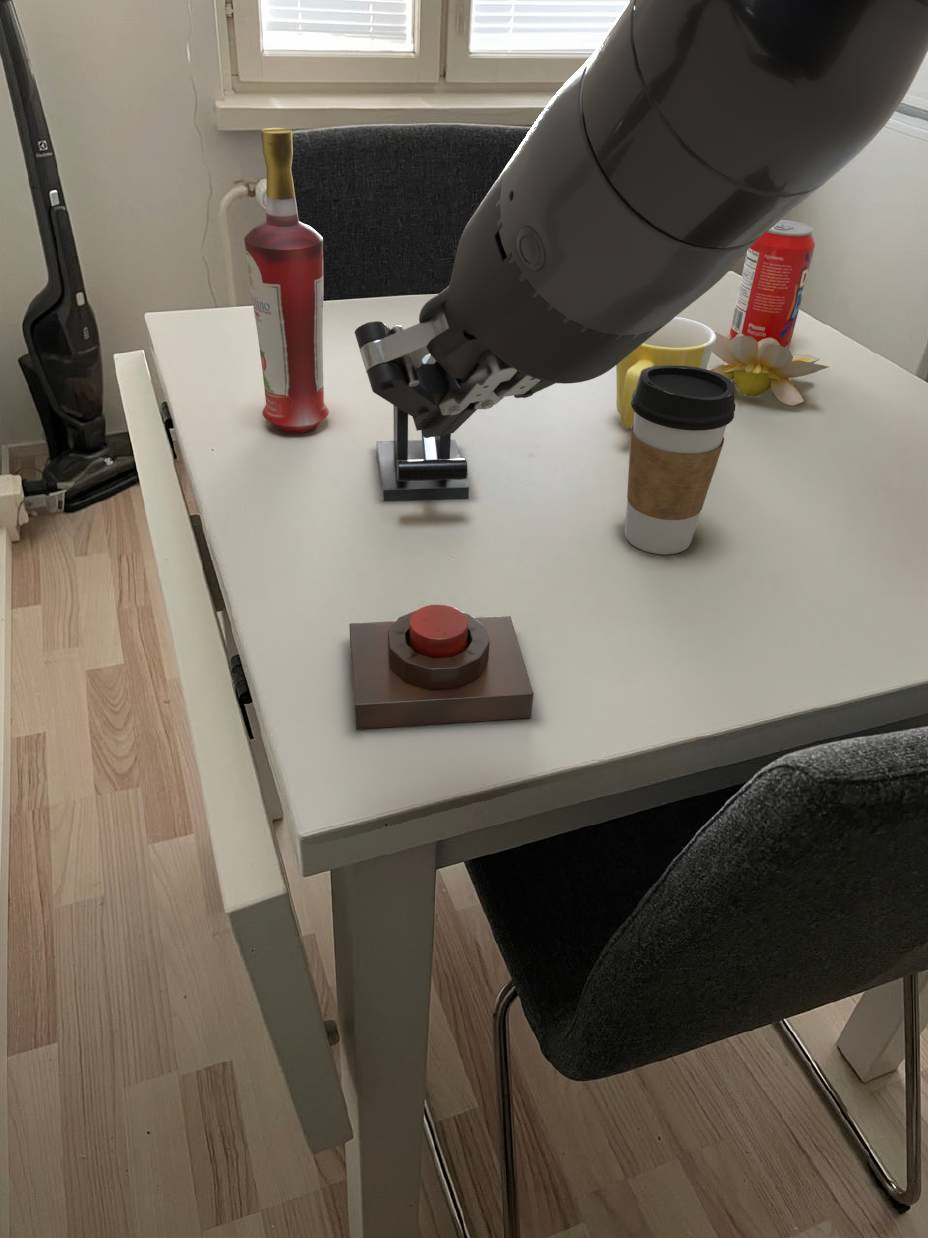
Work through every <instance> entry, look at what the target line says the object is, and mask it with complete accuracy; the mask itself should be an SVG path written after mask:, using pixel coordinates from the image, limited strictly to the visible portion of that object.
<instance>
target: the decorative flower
mask: <svg viewBox="0 0 928 1238" xmlns="http://www.w3.org/2000/svg"><path fill="white" fill-rule="evenodd" d="M714 333H715V334H716V341H715V344H714V347H713V350H712V353H713V354H714V355H715V356H716V357H718V358H719V359H720V360H722V361H723V362H725V363H726V365H722V366H718V367H715V368H712V369H709V370H710V371H713V372H716V373H719V374H721V375H723V376H725V377H727V378H728V379H729V380H731V381H732V380H733V381H734V383H735V385H736V387H737V389H738V391H739V392H740V393H741V394H743V395H745V396H747V397H753V398H757V397H758V396H761V395H762V394H764V393H766V392H768V391H769V390H771V391H772V392H773V394H774V395H775V397H776V398H777V399H778V400H779V401H780V402H782V403H784V404H785V405H789V406H795V405H798V404H801V403H803V402H804V399H803V397H802V395H801V393H800V392H799V390H798V389H797V388H796V386H795V385H794V383H793V382H792V380H790V379H794V378H795V379H797V378H800V377H805V376H809V375H811V374H814V373H816V372H820V371H823V370H824V369H829V368H830V366H828V365H824V364H819V363H816V362H818V361H820V358H819V357H817V356H814V355H812V354H807V353H799V354H794V355H793V354H792V351H790V350H789V348H787V347H782V346H780V344H779V343H778V341H777V340H775V339H773V338H765V339H763V340H761V341H759V342H757V341H756V340H755V339H754V338H753V337H750V336H744V335H743V334H741V333H739V334H737V335H736V337H734V338H733V339H730V338H728V336H725V335H723V334H720V333H719V332H716V331H714Z"/></svg>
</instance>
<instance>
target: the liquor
mask: <svg viewBox="0 0 928 1238" xmlns="http://www.w3.org/2000/svg"><path fill="white" fill-rule="evenodd" d="M260 134H261V135H260V136H261V146H262V147H261V149H262V154H263V158H264V164H265V167H266V188H265V189H266V190H265V191H266V197H265V198H266V201H265V203H266V204H265V205H266V208H265V209H266V210H265V216H266V217H265V221H264V222H262V223H260V224H257V225H255V226H254V227H253V228H252V229H251V230H250V231H249V232H248V233H247V234H246V235H245V236H244V238H243V239H244V240H243V241H244V248H245V255H246V263H247V270H248V271H247V272H248V279H249V286H250V293H251V301H252V308H253V312H254V313H253V314H254V319H255V326H256V333H257V339H258V347H259V355H260V362H261V363H260V364H261V370H262V380H263V388H264V396H265V397H264V398H265V406H264V407H263V409H262V417H263V418H264V419H265V420H266V421H268V422H269V423H270V424H271V425H272V426H274V427H275V428H277V429H278V430H279V431H281V432H282V431H283V432H285V433H289V434H299V433H301V434H302V433H307V432H311V431H312V430H315V429H316V428H317V427H318V426H319V425H320V424H321V423H323V421H324V420H325V419H326V418H327V417H328V416H329V412H330V411H329V410H330V409H329V407H328V406H327V405H326V403H325V392H324V391H325V390H324V389H325V388H324V386H325V385H324V237H323V236H322V235H321V234H320V233H319V232H318V231H317V230H315V229H314V228H313V227H312V226H310V225H308V224H306V223H303V222H302V221H300V218H299V212H298V206H297V200H296V192H295V186H294V178H293V172H292V163H293V156H294V155H293V154H294V148H293V147H294V146H293V131H292V130H291V129H288V128H285V127H284V128H283V127H269V128H268V127H267V128H262V129H261V130H260Z"/></svg>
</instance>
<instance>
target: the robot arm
mask: <svg viewBox="0 0 928 1238" xmlns="http://www.w3.org/2000/svg"><path fill="white" fill-rule="evenodd" d="M927 54H928V0H629V1H628V3H627V4H626V5H625V7H624V8H623V10H622V11H621V13H620V14H619V15H618V17H617V18H616V20H615V22H613V24H612V25H611V27H610V29H609V30H608V32H607V33H606V35H605V36H604V38H603V39H602V40H601V41H600V43H599V45H598V47H596V49H595V50H594V52H592V54H591V55H590V57H589V58H588V59H587V60H586V61H585V62H584V63H583V64H582V66H581V67H580V68H579V69H578V70H577V71H576V72H575V73H574V74H573V75H572V76H571V77H570V78H569V79H568V80H566V81H565V83H564V84H563V86H562V87H561V88H560V89H559V90H558V91H557V92H556V93H555V95H554V96H553V97H552V98H551V100H550V101H549V102H548V103H547V105H546V106H545V108H544V109H543V111H542V112H541V113H540V114H539V116H538V118H537V119H536V121H534V124H533V125H532V127H531V128H530V129H529V130H528V132H527V134H526V135H525V137H524V138H523V140H522V141H521V143H520V144H519V145H518V147H517V149H516V151H514V153H513V155H512V156H511V158H509V161H508V162H507V164H506V165H505V167H504V168H503V170H502V171H501V173H500V174H499V176H498V177H497V179H496V180H495V182H494V183H493V184H492V186H491V187H490V189H489V191H488V192H487V193H486V195H485V196H484V198H483V199H482V201H481V202H480V203H479V206H478V207H477V208H476V210H475V211H474V213H473V214H472V216H470V217H471V218H470V219H469V221H468V222H467V223H466V225H465V227H464V229H463V231H462V233H461V236H460V238H459V240H458V241H459V242H458V244H457V248H456V252H455V257H454V261H453V262H454V263H453V267H452V273H451V278H450V281H449V284H448V286H447V287H446V288H444V289H443V290H442V291H440V292H439V293H438V294H436V295H435V296H433V297H431V298H430V299H429V300H427V301H426V302H425V303H424V305H423V306H422V307H421V309H420V312H419V317H418V323H417V324H414V325H412V326H409V327H407V328H403V326H402V325H395V326H392V327H391V328H390V327H389V326H388V325H387V324H386V323H384V322H383V321H378V320H377V321H369V322H366V323H364V324H362V325H360V326H358V327H356V329H355V330H354V335H355V338H356V342H357V345H358V349H359V352H360V356H361V359H362V362H363V366H364V370H365V372H366V375H367V378H368V382H369V384H370V388H371V390H372V393H374V394H376V395H377V396H378V397H380V398H382V399H383V400H385V401H386V402H388V403H389V404H391V405H392V406H393V405H395V406H396V407H398V408H399V409H401V410H402V411H404V412H406V413H407V414H408V416H411V417H412V420H413V423H414V426H415V429H416V431H420V433H421V432H422V433H421V435H422V434H423V436H424V437H425V438H430V437H435V436H441V435H446V434H451V435H452V434H454V433H455V432H456V431H458V429H459V428H460V427H461V426H462V425H463V424H465V422H466V421H468V419H469V418H471V416H473V415H474V413H476V411H477V410H488V409H491V408H493V407H494V406H496V405H497V404H498V403H499V402H501V401H502V400H503V399H504V398H505V397H513V398H515V399H521V398H522V399H527V398H529V397H532V396H533V395H534V394H536V393H538V392H540V391H543V390H544V389H547V388H549V387H551V386H553V385H555V384H565V385H567V384H577V383H583V382H588V381H590V380H593V379H596V378H598V377H601V376H603V375H604V374H606V373H608V372H609V371H611V370H612V369H613V368H615V367H616V365H617V364H618V363H619V362H621V361H622V360H623V359H624V358H625V357H627V356H628V355H629V354H630V353H632V352H633V351H634V350H635V349H636V348H638V347H639V346H640V345H641V344H643V343H644V342H645V341H646V340H647V339H649V338H650V337H651V336H652V335H654V334H655V333H656V332H657V331H659V330H660V329H661V328H662V327H664V326H665V325H666V324H667V323H668V322H670V321H671V320H672V319H673V318H674V317H678V315H679V314H681V313H682V312H683V311H685V310H686V309H687V308H688V307H690V306H691V305H692V304H693V303H695V302H696V301H697V300H698V299H699V298H701V297H702V296H703V295H704V294H706V293H707V292H708V291H709V290H711V289H713V287H714V286H715V285H717V283H719V282H720V281H721V280H722V279H723V278H724V277H725V276H726V275H727V274H728V273H729V271H731V270H732V268H733V267H734V266H735V265H736V264H737V263H738V262H739V261H740V259H741V258H742V257H743V256H744V255H745V253H747V250H748V249H749V248H750V247H751V245H752V244H753V243H754V242H755V241H756V240H757V239H759V238H760V237H761V236H762V235H763V234H764V233H765V232H767V231H768V230H769V229H770V228H772V227H773V226H774V225H775V224H776V223H778V222H779V221H780V220H783V219H784V218H785V217H786V216H787V215H788V214H790V213H791V212H792V211H794V210H795V209H796V208H797V207H799V205H801V204H802V203H803V202H804V201H805V200H807V199H808V198H809V197H810V196H812V195H813V194H814V193H816V192H817V191H818V190H819V189H820V188H821V187H823V186H824V185H825V184H826V183H827V182H828V181H830V180H831V179H832V178H833V177H834V176H835V175H837V174H838V173H839V172H841V170H842V169H844V168H845V167H846V166H847V165H849V163H851V161H853V160H854V159H855V158H856V157H857V156H858V155H859V154H860V153H861V152H862V151H864V149H865V148H866V147H867V146H868V145H869V144H870V143H871V142H872V141H873V140H874V139H875V138H876V136H877V135H878V134H879V133H880V131H882V130H883V128H884V127H885V126H886V125H887V123H888V122H889V121H890V119H891V118H892V116H893V115H894V114H895V112H896V110H897V109H898V107H899V106H900V105H901V104H902V101H903V100H904V98H905V96H906V95H907V94H908V91H909V90H910V88H911V86H912V84H913V82H914V81H915V79H916V76H917V74H918V72H919V70H920V68H921V66H922V64H923V62H924V60H925V58H926V56H927ZM425 356H430V357H429V359H428V360H427V362H426V364H423V361H422V359H423V358H424V357H425Z"/></svg>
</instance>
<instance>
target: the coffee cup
mask: <svg viewBox="0 0 928 1238" xmlns="http://www.w3.org/2000/svg"><path fill="white" fill-rule="evenodd" d="M710 370H711V369H707V368H706V369H702V368H697V367H690V366H672V365H669V366H654V367H648V368H645V369H643V370H642V371H641V373H640V376H639V380H638V383H637V387H636V390H635V391H634V392H633V394H632V400H631V407H632V408H633V410H634V411H635V415H634V423H633V424H632V427H631V428H630V441H629V455H628V474H627V475H628V476H627V491H626V493H627V495H626V498H627V502H626V510H625V511H626V512H625V523H624V524H625V525H624V535H625V538H626V540H627V541H628V542H629V543H630V544H631V545H632V546H634V547H635V548H637V549H638V550H642V551H644V552H647V553H651V554H657V555H675V554H679V553H681V552H683V551H685V550H687V549H688V548H689V547H690V546H691V543H692V541H693V538H694V534H695V531H696V528H697V524H698V521H699V517H700V515H701V511H702V509H703V507H704V504H705V500H706V498H707V495H708V492H709V489H710V485H711V482H712V479H713V476H714V473H715V470H716V467H717V465H718V462H719V459H720V456H721V454H722V453H721V452H722V449H723V446H724V444H725V437H724V436H725V432H726V428H727V425H729V424H730V423H731V422H733V420H734V418H735V411H736V402H735V393H736V386H735V384H734V382H732V380H729V379H728V378H727V377H725V376H723V375H721V374H719V373H716V372H713V371H710Z"/></svg>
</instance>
